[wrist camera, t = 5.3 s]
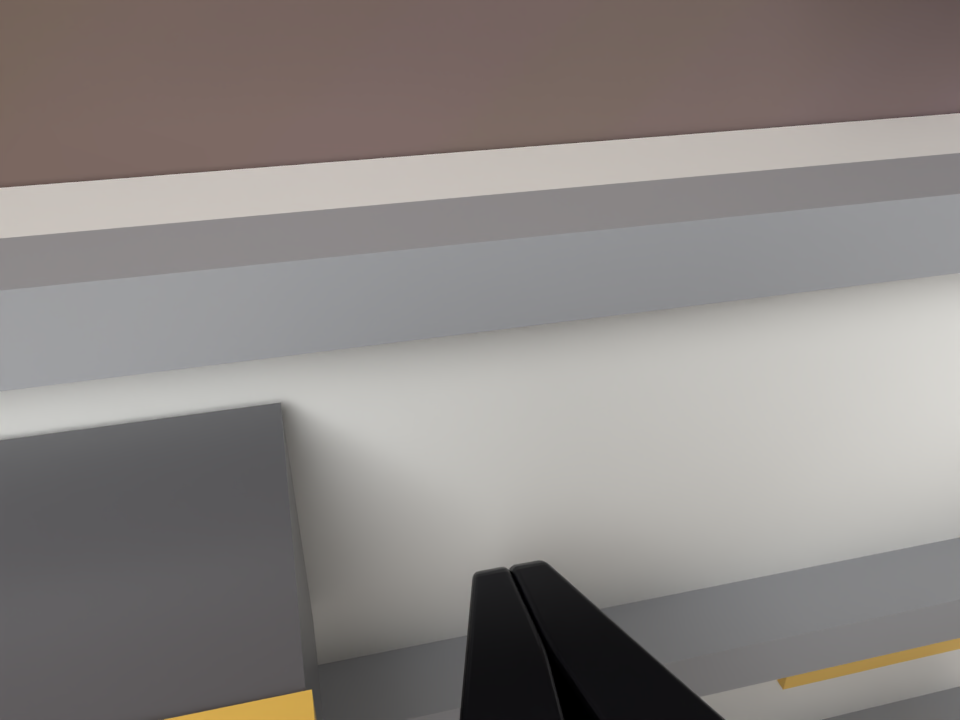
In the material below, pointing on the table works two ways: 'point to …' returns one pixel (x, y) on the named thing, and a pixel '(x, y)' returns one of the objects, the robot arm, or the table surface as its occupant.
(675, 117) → the table surface
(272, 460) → the block
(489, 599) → the robot arm
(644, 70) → the table surface
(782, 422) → the breaker panel
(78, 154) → the table surface
